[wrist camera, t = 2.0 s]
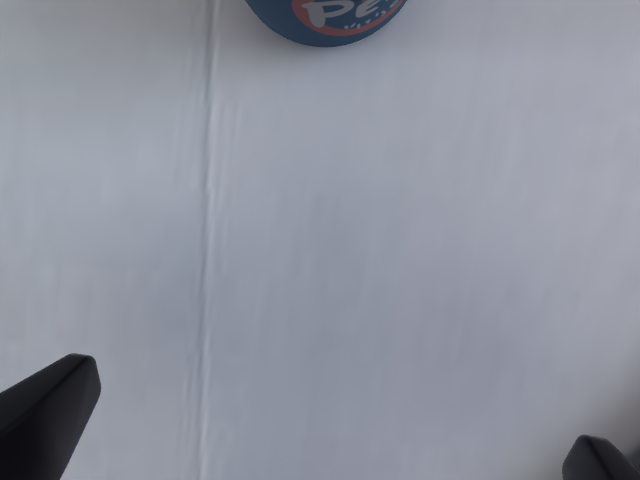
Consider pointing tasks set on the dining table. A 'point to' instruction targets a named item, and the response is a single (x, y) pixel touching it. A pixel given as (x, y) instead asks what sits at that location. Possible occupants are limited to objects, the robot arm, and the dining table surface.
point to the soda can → (325, 19)
